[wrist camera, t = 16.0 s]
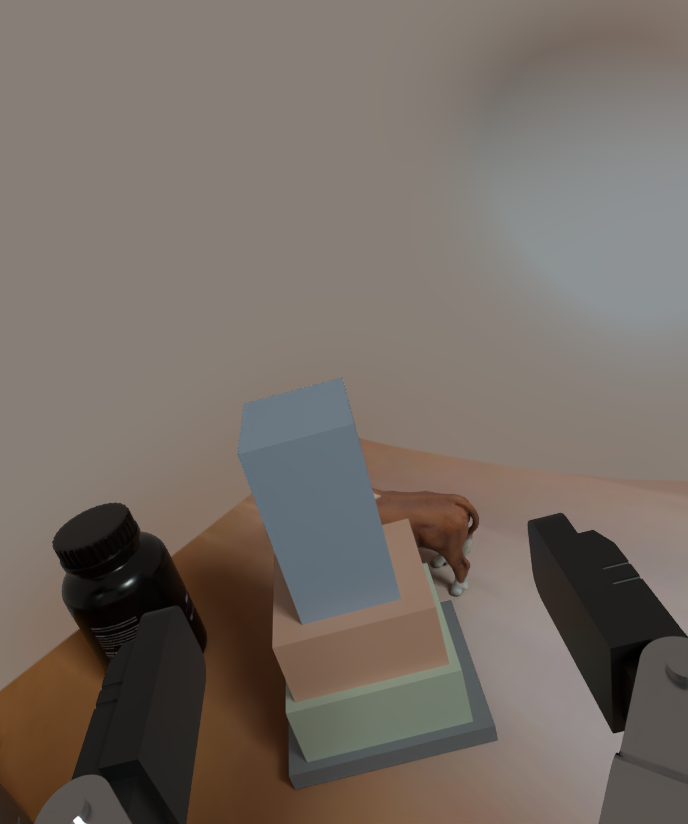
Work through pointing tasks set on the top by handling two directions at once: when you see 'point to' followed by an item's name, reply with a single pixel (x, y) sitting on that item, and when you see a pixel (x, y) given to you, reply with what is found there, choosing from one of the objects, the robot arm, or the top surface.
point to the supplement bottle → (117, 578)
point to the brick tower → (378, 678)
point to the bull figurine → (435, 526)
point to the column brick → (317, 500)
